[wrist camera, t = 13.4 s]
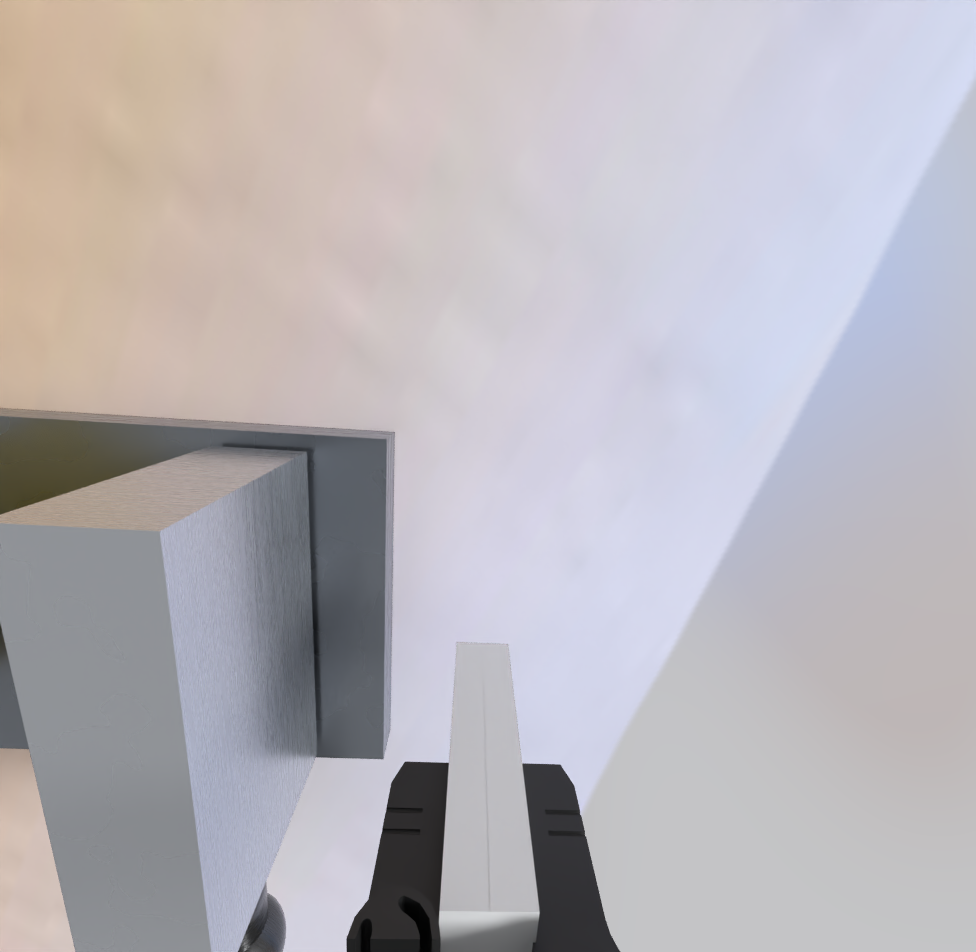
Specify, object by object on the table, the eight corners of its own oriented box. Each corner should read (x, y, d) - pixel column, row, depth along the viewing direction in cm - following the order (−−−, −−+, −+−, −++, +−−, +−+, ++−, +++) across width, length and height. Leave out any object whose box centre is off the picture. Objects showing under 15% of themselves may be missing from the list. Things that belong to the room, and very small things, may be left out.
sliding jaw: (192, 444, 14) (-60, 520, 8) (307, 451, 15) (159, 531, 8) (233, 863, 19) (97, 1149, 12) (321, 865, 19) (235, 1147, 12)
